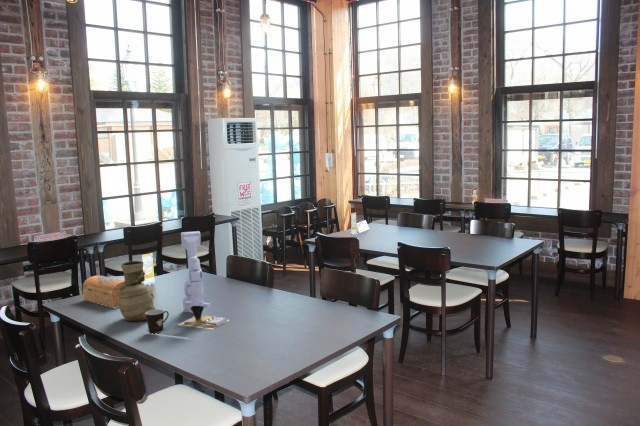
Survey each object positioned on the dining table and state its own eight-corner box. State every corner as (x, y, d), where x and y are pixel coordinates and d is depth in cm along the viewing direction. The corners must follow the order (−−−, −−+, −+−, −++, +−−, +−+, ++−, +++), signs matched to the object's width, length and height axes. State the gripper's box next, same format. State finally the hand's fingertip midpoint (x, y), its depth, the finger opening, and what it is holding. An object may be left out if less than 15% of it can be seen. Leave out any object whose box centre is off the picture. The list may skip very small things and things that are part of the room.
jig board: (177, 326, 288) (177, 322, 288) (195, 317, 302) (195, 313, 301) (213, 331, 280) (212, 327, 279) (229, 321, 293) (229, 317, 293)
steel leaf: (203, 325, 286) (203, 320, 285) (213, 320, 293) (212, 315, 293) (216, 327, 283) (216, 322, 282) (225, 322, 290) (225, 317, 290)
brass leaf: (195, 324, 288) (195, 319, 288) (204, 319, 295) (204, 314, 295) (207, 325, 285) (207, 321, 285) (216, 320, 292) (216, 316, 292)
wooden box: (138, 301, 335) (136, 278, 333) (113, 309, 322) (111, 284, 320) (108, 294, 353) (106, 272, 351) (83, 301, 340) (81, 278, 338)
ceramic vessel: (162, 311, 315) (158, 257, 311) (153, 323, 294) (148, 266, 290) (127, 312, 315) (123, 258, 311) (115, 325, 294) (110, 267, 290)
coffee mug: (148, 336, 276) (147, 315, 274) (145, 331, 283) (143, 311, 282) (173, 331, 281) (171, 311, 280) (169, 326, 289) (167, 307, 287)
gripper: (179, 294, 289) (181, 321, 291) (204, 297, 283) (205, 324, 285) (188, 291, 296) (190, 316, 297) (212, 293, 290) (213, 319, 292)
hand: (198, 320), depth 292 cm, fingers closed
